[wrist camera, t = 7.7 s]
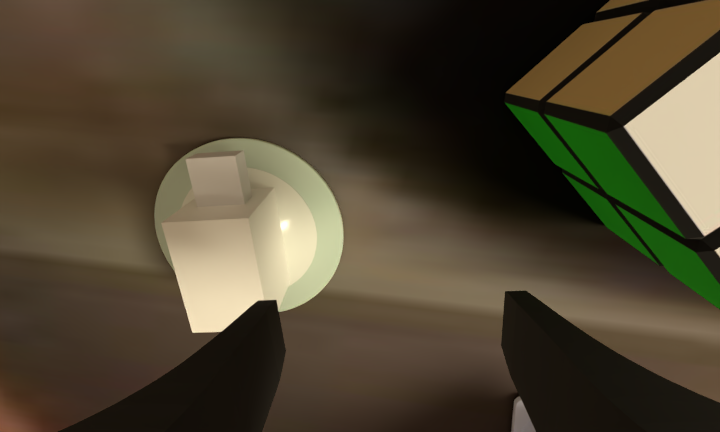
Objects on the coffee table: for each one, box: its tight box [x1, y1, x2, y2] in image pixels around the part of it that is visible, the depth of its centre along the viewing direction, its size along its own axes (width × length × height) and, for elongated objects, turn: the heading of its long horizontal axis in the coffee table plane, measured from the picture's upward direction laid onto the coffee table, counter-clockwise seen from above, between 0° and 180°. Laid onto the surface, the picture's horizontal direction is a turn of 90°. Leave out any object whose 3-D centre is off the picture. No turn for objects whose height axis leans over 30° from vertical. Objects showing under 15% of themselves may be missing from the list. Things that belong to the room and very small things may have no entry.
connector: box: [161, 150, 290, 333], centre depth 20 cm, size 8×4×4 cm, turn 4°
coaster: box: [154, 138, 344, 312], centre depth 23 cm, size 11×11×1 cm
